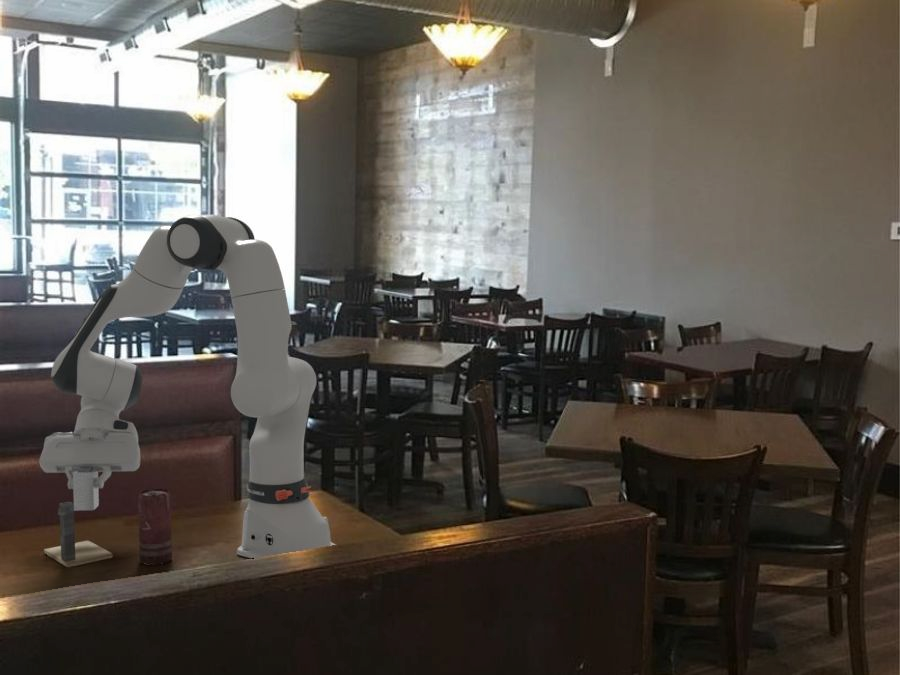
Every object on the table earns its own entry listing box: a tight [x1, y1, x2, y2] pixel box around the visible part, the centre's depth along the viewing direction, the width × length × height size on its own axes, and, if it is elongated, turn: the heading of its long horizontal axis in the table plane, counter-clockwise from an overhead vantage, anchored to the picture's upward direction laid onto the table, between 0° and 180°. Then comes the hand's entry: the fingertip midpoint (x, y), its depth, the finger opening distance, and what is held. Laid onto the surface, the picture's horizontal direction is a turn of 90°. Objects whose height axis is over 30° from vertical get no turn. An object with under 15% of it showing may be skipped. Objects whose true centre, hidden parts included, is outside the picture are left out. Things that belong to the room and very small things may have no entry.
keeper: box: [43, 501, 114, 568], centre depth 191 cm, size 13×11×12 cm
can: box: [137, 488, 173, 565], centre depth 189 cm, size 6×6×14 cm
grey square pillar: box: [72, 466, 100, 512], centre depth 200 cm, size 4×4×9 cm
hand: (85, 487), depth 200 cm, fingers closed on grey square pillar, 4 cm apart
